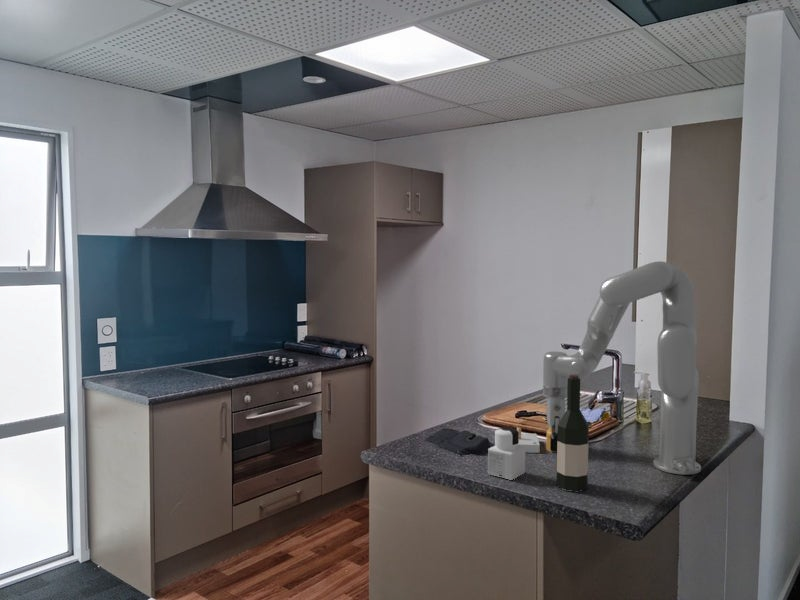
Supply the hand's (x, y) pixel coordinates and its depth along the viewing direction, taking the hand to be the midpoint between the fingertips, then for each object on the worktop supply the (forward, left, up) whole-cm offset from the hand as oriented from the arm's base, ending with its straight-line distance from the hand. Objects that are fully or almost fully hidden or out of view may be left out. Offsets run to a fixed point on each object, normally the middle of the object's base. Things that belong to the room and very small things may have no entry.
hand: (554, 447), depth 197 cm
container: (-24, +16, -1) cm, 29 cm away
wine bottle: (-31, -1, -1) cm, 31 cm away
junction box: (+5, +11, -1) cm, 12 cm away
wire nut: (0, 0, -1) cm, 1 cm away
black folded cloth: (+2, +30, -1) cm, 30 cm away
